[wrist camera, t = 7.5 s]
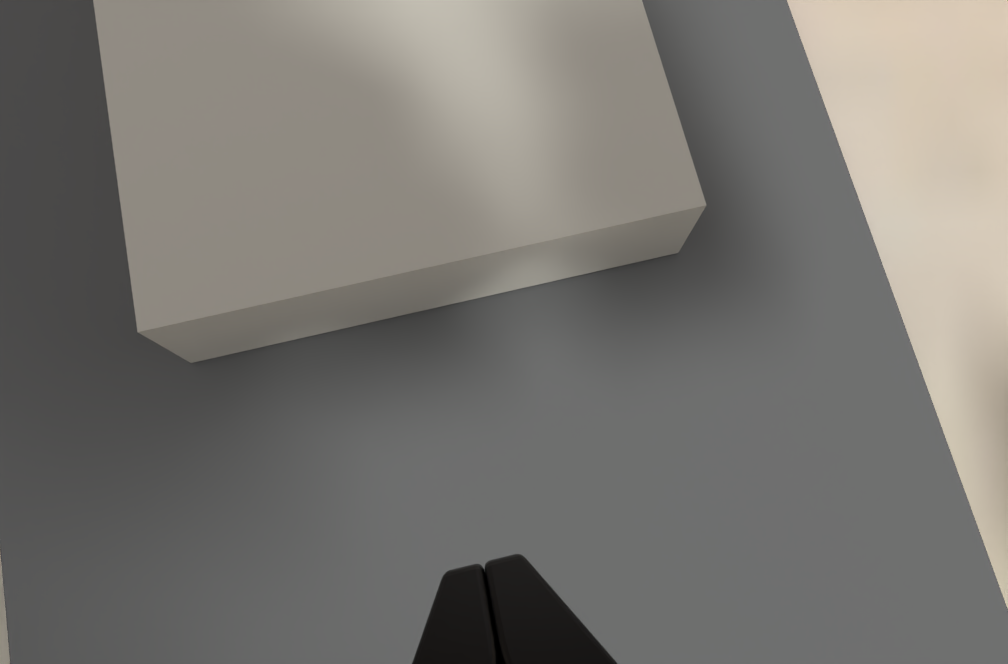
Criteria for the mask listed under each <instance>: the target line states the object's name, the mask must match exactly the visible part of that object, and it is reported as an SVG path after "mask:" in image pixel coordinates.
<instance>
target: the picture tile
mask: <svg viewBox="0 0 1008 664" xmlns="http://www.w3.org/2000/svg"><path fill="white" fill-rule="evenodd" d="M93 3H94V10H95V18H96V25H97V33H98V40H99V48H100V55H101V62H102V70H103V77H104V85H105V92H106V100H107V107H108V115H109V122H110V130H111V137H112V145H113V152H114V160H115V167H116V175H117V182H118V190H119V197H120V205H121V212H122V220H123V227H124V235H125V242H126V249H127V257H128V264H129V272H130V279H131V287H132V294H133V302H134V309H135V317H136V324H137V332H138V333H140V334H141V335H143V336H145V337H147V338H148V339H150V340H152V341H154V342H155V343H157V344H159V345H161V346H162V347H164V348H166V349H168V350H169V351H171V352H173V353H174V354H176V355H178V356H180V357H181V358H183V359H185V360H187V361H188V362H190V363H193V362H198V361H202V360H207V359H211V358H216V357H220V356H224V355H229V354H233V353H238V352H242V351H247V350H251V349H255V348H260V347H264V346H269V345H273V344H277V343H282V342H286V341H291V340H295V339H300V338H304V337H308V336H313V335H317V334H322V333H326V332H331V331H335V330H339V329H344V328H348V327H353V326H357V325H362V324H366V323H370V322H375V321H379V320H384V319H388V318H393V317H397V316H401V315H406V314H410V313H415V312H419V311H423V310H428V309H432V308H437V307H441V306H446V305H450V304H454V303H459V302H463V301H468V300H472V299H477V298H481V297H485V296H490V295H494V294H499V293H503V292H508V291H512V290H516V289H521V288H525V287H530V286H534V285H538V284H543V283H547V282H552V281H556V280H561V279H565V278H569V277H574V276H578V275H583V274H587V273H592V272H596V271H600V270H605V269H609V268H614V267H618V266H623V265H627V264H631V263H636V262H640V261H645V260H649V259H654V258H658V257H662V256H667V255H671V254H676V253H678V252H679V251H680V249H681V247H682V246H683V244H684V242H685V241H686V239H687V237H688V236H689V234H690V232H691V231H692V229H693V227H694V226H695V224H696V222H697V221H698V219H699V217H700V215H701V214H702V212H703V210H704V209H705V207H706V202H705V198H704V195H703V192H702V189H701V186H700V183H699V179H698V176H697V173H696V170H695V167H694V164H693V160H692V157H691V154H690V151H689V148H688V145H687V141H686V138H685V135H684V132H683V129H682V125H681V122H680V119H679V116H678V113H677V110H676V106H675V103H674V100H673V97H672V94H671V91H670V87H669V84H668V81H667V78H666V75H665V72H664V68H663V65H662V62H661V59H660V56H659V53H658V49H657V46H656V43H655V40H654V37H653V33H652V30H651V27H650V24H649V21H648V18H647V14H646V11H645V8H644V5H643V2H642V0H93Z"/></svg>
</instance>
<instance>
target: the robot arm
mask: <svg viewBox="0 0 1008 664" xmlns="http://www.w3.org/2000/svg"><path fill="white" fill-rule="evenodd" d="M412 664H618V663H617V662H616V661H615V660H614V659H613V657H612V656H611V655H610V654H609V653H608V652H607V650H606V649H605V648H604V647H603V646H602V645H601V644H600V642H599V641H598V640H597V639H596V638H595V637H594V636H593V634H592V633H591V632H590V631H589V630H588V629H587V628H586V626H585V625H584V624H583V623H582V622H581V621H580V619H579V618H578V617H577V616H576V615H575V614H574V613H573V611H572V610H571V609H570V608H569V607H568V606H567V605H566V603H565V602H564V601H563V600H562V599H561V598H560V597H559V595H558V594H557V593H556V592H555V591H554V590H553V588H552V587H551V586H550V585H549V584H548V583H547V582H546V580H545V579H544V578H543V577H542V576H541V575H540V574H539V572H538V571H537V570H536V569H535V568H534V567H533V566H532V564H531V563H530V562H529V561H528V560H527V559H526V558H525V557H524V556H523V555H521V554H514V555H509V556H505V557H501V558H497V559H493V560H489V561H488V562H487V563H486V564H485V570H484V568H483V566H482V565H480V564H473V565H468V566H464V567H460V568H456V569H452V570H449V571H447V572H446V573H445V574H444V575H443V577H442V579H441V581H440V584H439V587H438V590H437V593H436V596H435V599H434V602H433V604H432V607H431V610H430V613H429V616H428V619H427V622H426V625H425V627H424V630H423V633H422V636H421V639H420V642H419V645H418V648H417V650H416V653H415V656H414V659H413V662H412Z"/></svg>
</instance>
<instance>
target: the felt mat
mask: <svg viewBox="0 0 1008 664" xmlns="http://www.w3.org/2000/svg"><path fill="white" fill-rule="evenodd" d="M642 2H643V5H644V8H645V11H646V14H647V18H648V21H649V24H650V27H651V30H652V33H653V37H654V40H655V43H656V46H657V49H658V53H659V56H660V59H661V62H662V65H663V68H664V72H665V75H666V78H667V81H668V84H669V87H670V91H671V94H672V97H673V100H674V103H675V106H676V110H677V113H678V116H679V119H680V122H681V125H682V129H683V132H684V135H685V138H686V141H687V145H688V148H689V151H690V154H691V157H692V160H693V164H694V167H695V170H696V173H697V176H698V179H699V183H700V186H701V189H702V192H703V195H704V198H705V202H706V207H705V209H704V210H703V212H702V214H701V215H700V217H699V219H698V221H697V222H696V224H695V226H694V227H693V229H692V231H691V232H690V234H689V236H688V237H687V239H686V241H685V242H684V244H683V246H682V247H681V249H680V251H679V252H678V253H676V254H671V255H667V256H662V257H658V258H654V259H649V260H645V261H640V262H636V263H631V264H627V265H623V266H618V267H614V268H609V269H605V270H600V271H596V272H592V273H587V274H583V275H578V276H574V277H569V278H565V279H561V280H556V281H552V282H547V283H543V284H538V285H534V286H530V287H525V288H521V289H516V290H512V291H508V292H503V293H499V294H494V295H490V296H485V297H481V298H477V299H472V300H468V301H463V302H459V303H454V304H450V305H446V306H441V307H437V308H432V309H428V310H423V311H419V312H415V313H410V314H406V315H401V316H397V317H393V318H388V319H384V320H379V321H375V322H370V323H366V324H362V325H357V326H353V327H348V328H344V329H339V330H335V331H331V332H326V333H322V334H317V335H313V336H308V337H304V338H300V339H295V340H291V341H286V342H282V343H277V344H273V345H269V346H264V347H260V348H255V349H251V350H247V351H242V352H238V353H233V354H229V355H224V356H220V357H216V358H211V359H207V360H202V361H198V362H193V363H190V362H188V361H187V360H185V359H183V358H181V357H180V356H178V355H176V354H174V353H173V352H171V351H169V350H168V349H166V348H164V347H162V346H161V345H159V344H157V343H155V342H154V341H152V340H150V339H148V338H147V337H145V336H143V335H141V334H140V333H138V332H137V324H136V317H135V309H134V302H133V294H132V287H131V279H130V272H129V264H128V257H127V249H126V242H125V235H124V227H123V220H122V212H121V205H120V197H119V190H118V182H117V175H116V167H115V160H114V152H113V145H112V137H111V130H110V122H109V115H108V107H107V100H106V92H105V85H104V77H103V70H102V62H101V55H100V48H99V40H98V33H97V25H96V18H95V10H94V3H93V0H0V550H1V562H2V573H3V585H4V596H5V607H6V619H7V630H8V642H9V653H10V664H412V662H413V659H414V656H415V653H416V650H417V648H418V645H419V642H420V639H421V636H422V633H423V630H424V627H425V625H426V622H427V619H428V616H429V613H430V610H431V607H432V604H433V602H434V599H435V596H436V593H437V590H438V587H439V584H440V581H441V579H442V577H443V575H444V574H445V573H446V572H447V571H449V570H452V569H456V568H460V567H464V566H468V565H473V564H480V565H482V566H483V568H484V570H485V564H486V563H487V562H488V561H489V560H493V559H497V558H501V557H505V556H509V555H514V554H521V555H523V556H524V557H525V558H526V559H527V560H528V561H529V562H530V563H531V564H532V566H533V567H534V568H535V569H536V570H537V571H538V572H539V574H540V575H541V576H542V577H543V578H544V579H545V580H546V582H547V583H548V584H549V585H550V586H551V587H552V588H553V590H554V591H555V592H556V593H557V594H558V595H559V597H560V598H561V599H562V600H563V601H564V602H565V603H566V605H567V606H568V607H569V608H570V609H571V610H572V611H573V613H574V614H575V615H576V616H577V617H578V618H579V619H580V621H581V622H582V623H583V624H584V625H585V626H586V628H587V629H588V630H589V631H590V632H591V633H592V634H593V636H594V637H595V638H596V639H597V640H598V641H599V642H600V644H601V645H602V646H603V647H604V648H605V649H606V650H607V652H608V653H609V654H610V655H611V656H612V657H613V659H614V660H615V661H616V662H617V663H618V664H1008V609H1007V607H1006V604H1005V601H1004V598H1003V596H1002V593H1001V590H1000V587H999V585H998V582H997V579H996V576H995V573H994V571H993V568H992V565H991V562H990V560H989V557H988V554H987V551H986V549H985V546H984V543H983V540H982V538H981V535H980V532H979V529H978V527H977V524H976V521H975V518H974V516H973V513H972V510H971V507H970V505H969V502H968V499H967V496H966V494H965V491H964V488H963V485H962V483H961V480H960V477H959V474H958V472H957V469H956V466H955V463H954V461H953V458H952V455H951V452H950V449H949V447H948V444H947V441H946V438H945V436H944V433H943V430H942V427H941V425H940V422H939V419H938V416H937V414H936V411H935V408H934V405H933V403H932V400H931V397H930V394H929V392H928V389H927V386H926V383H925V381H924V378H923V375H922V372H921V370H920V367H919V364H918V361H917V359H916V356H915V353H914V350H913V348H912V345H911V342H910V339H909V337H908V334H907V331H906V328H905V325H904V323H903V320H902V317H901V314H900V312H899V309H898V306H897V303H896V301H895V298H894V295H893V292H892V290H891V287H890V284H889V281H888V279H887V276H886V273H885V270H884V268H883V265H882V262H881V259H880V257H879V254H878V251H877V248H876V246H875V243H874V240H873V237H872V235H871V232H870V229H869V226H868V224H867V221H866V218H865V215H864V212H863V210H862V207H861V204H860V201H859V199H858V196H857V193H856V190H855V188H854V185H853V182H852V179H851V177H850V174H849V171H848V168H847V166H846V163H845V160H844V157H843V155H842V152H841V149H840V146H839V144H838V141H837V138H836V135H835V133H834V130H833V127H832V124H831V122H830V119H829V116H828V113H827V111H826V108H825V105H824V102H823V100H822V97H821V94H820V91H819V88H818V86H817V83H816V80H815V77H814V75H813V72H812V69H811V66H810V64H809V61H808V58H807V55H806V53H805V50H804V47H803V44H802V42H801V39H800V36H799V33H798V31H797V28H796V25H795V22H794V20H793V17H792V14H791V11H790V9H789V6H788V3H787V0H642Z"/></svg>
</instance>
